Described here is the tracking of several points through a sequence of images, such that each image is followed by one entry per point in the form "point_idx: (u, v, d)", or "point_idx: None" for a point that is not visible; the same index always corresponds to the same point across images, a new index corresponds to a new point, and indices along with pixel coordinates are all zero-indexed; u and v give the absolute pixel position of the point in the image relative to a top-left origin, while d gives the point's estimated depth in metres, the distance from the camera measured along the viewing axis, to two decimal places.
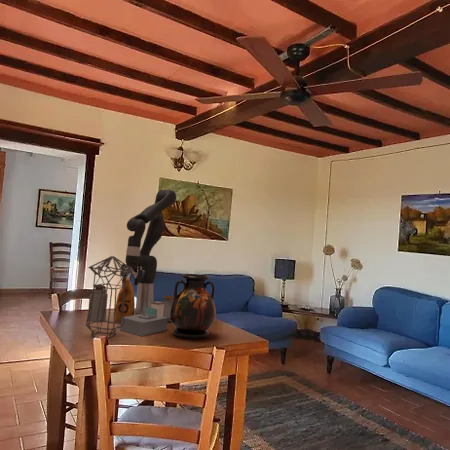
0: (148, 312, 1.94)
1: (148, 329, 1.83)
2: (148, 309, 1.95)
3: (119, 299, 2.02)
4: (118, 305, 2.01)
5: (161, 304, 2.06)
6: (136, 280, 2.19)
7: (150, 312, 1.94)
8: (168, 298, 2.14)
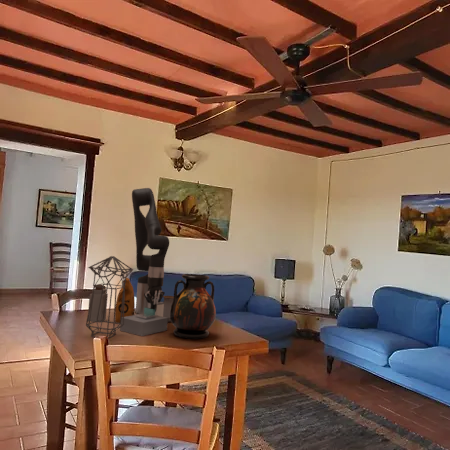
0: (147, 312, 1.94)
1: (148, 329, 1.83)
2: (147, 309, 1.94)
3: (119, 299, 2.02)
4: (118, 305, 2.01)
5: (161, 304, 2.06)
6: (156, 306, 1.96)
7: (149, 312, 1.93)
8: (168, 298, 2.14)
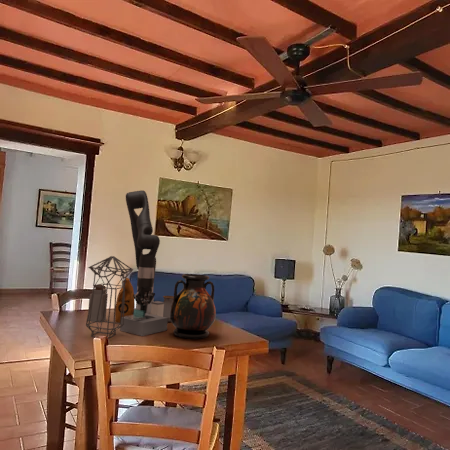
0: (136, 314, 1.88)
1: (148, 329, 1.83)
2: (136, 311, 1.88)
3: (119, 299, 2.02)
4: (118, 305, 2.01)
5: (161, 304, 2.06)
6: (146, 308, 1.90)
7: (138, 314, 1.87)
8: (168, 298, 2.14)
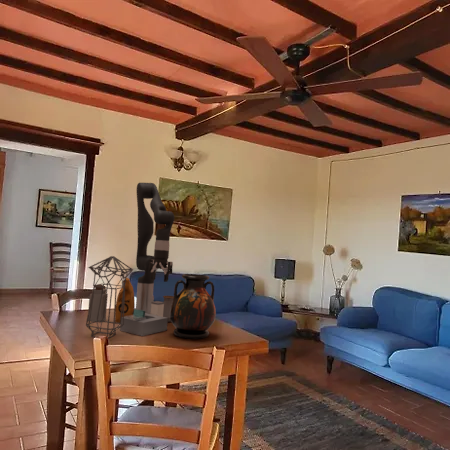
0: (136, 314, 1.88)
1: (148, 329, 1.83)
2: (136, 311, 1.88)
3: (119, 299, 2.02)
4: (118, 305, 2.01)
5: (161, 304, 2.06)
6: None
7: (138, 314, 1.87)
8: (168, 298, 2.14)
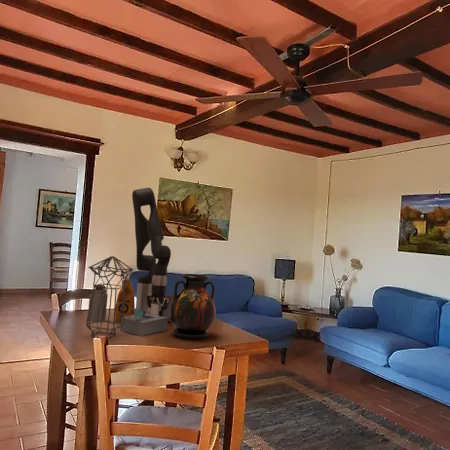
0: (136, 314, 1.88)
1: (148, 329, 1.83)
2: (136, 311, 1.88)
3: (119, 299, 2.02)
4: (118, 305, 2.01)
5: None
6: None
7: (138, 314, 1.87)
8: (168, 298, 2.14)
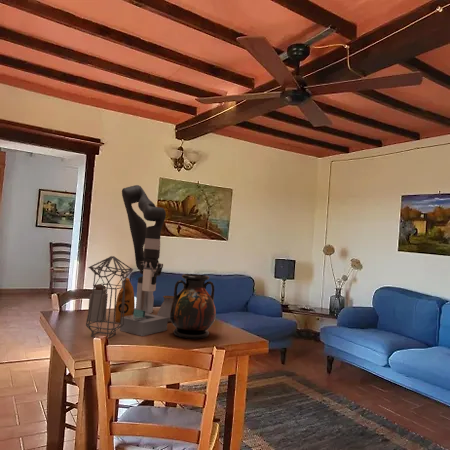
0: (136, 314, 1.88)
1: (148, 329, 1.83)
2: (136, 311, 1.88)
3: (119, 299, 2.02)
4: (118, 305, 2.01)
5: (154, 269, 1.92)
6: None
7: (138, 314, 1.87)
8: (168, 298, 2.14)
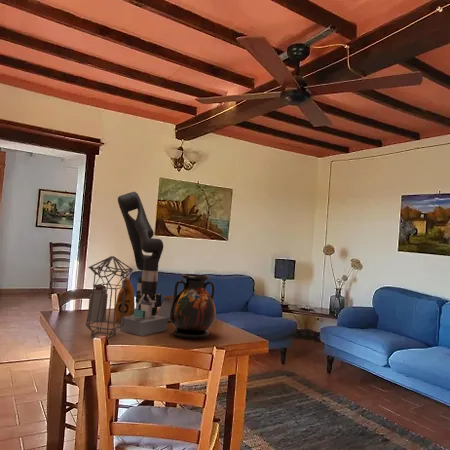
0: (136, 314, 1.88)
1: (148, 329, 1.83)
2: (136, 311, 1.88)
3: (119, 299, 2.02)
4: (118, 305, 2.01)
5: None
6: None
7: (138, 314, 1.87)
8: (168, 298, 2.14)
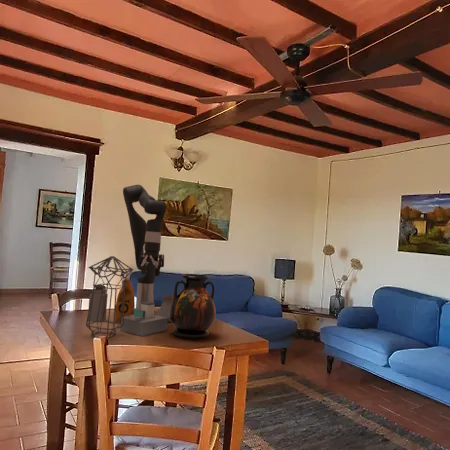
0: (136, 314, 1.88)
1: (148, 329, 1.83)
2: (136, 311, 1.88)
3: (119, 299, 2.02)
4: (118, 305, 2.01)
5: (152, 305, 1.91)
6: None
7: (138, 314, 1.87)
8: (168, 298, 2.14)
